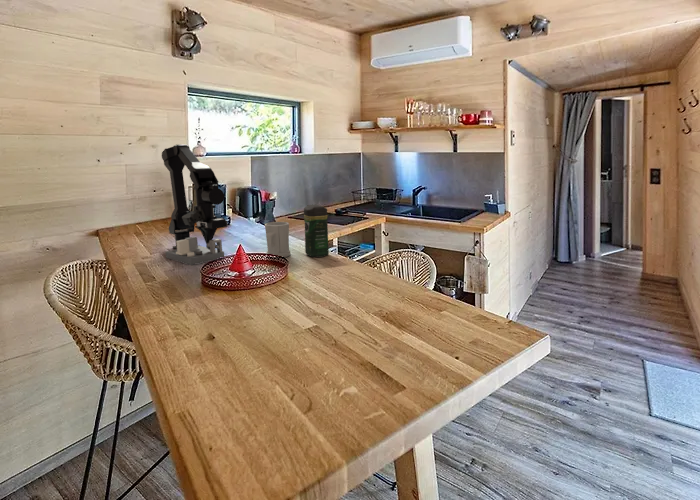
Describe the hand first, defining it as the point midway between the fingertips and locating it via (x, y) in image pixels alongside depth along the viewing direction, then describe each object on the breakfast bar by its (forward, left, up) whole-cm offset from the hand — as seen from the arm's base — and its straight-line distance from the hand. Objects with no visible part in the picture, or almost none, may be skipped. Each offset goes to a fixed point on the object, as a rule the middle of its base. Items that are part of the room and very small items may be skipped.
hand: (208, 244), depth 173 cm
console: (-3, -4, -5) cm, 7 cm away
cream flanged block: (-2, -9, -2) cm, 9 cm away
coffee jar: (+30, +27, -5) cm, 40 cm away
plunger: (+4, 0, -2) cm, 4 cm away
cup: (+20, +17, -5) cm, 26 cm away
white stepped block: (-4, -4, -2) cm, 6 cm away
